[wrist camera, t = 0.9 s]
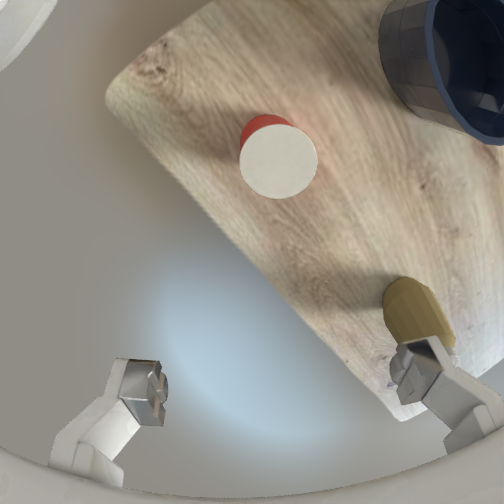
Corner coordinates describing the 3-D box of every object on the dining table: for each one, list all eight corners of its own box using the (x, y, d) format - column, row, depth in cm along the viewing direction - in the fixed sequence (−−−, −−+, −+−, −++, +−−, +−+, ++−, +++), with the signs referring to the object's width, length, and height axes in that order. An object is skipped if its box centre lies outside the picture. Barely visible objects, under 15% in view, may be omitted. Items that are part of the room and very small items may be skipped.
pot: (350, 62, 24) (391, 58, 16) (414, -33, 17) (459, -52, 9) (452, 152, 29) (500, 177, 21) (502, 61, 22) (551, 70, 14)
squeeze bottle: (432, 280, 39) (493, 371, 24) (399, 318, 43) (445, 412, 27) (398, 262, 37) (465, 366, 22) (364, 305, 41) (409, 413, 25)
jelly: (229, 153, 29) (225, 177, 22) (257, 103, 26) (264, 110, 19) (278, 179, 31) (291, 211, 24) (308, 132, 28) (331, 149, 21)
